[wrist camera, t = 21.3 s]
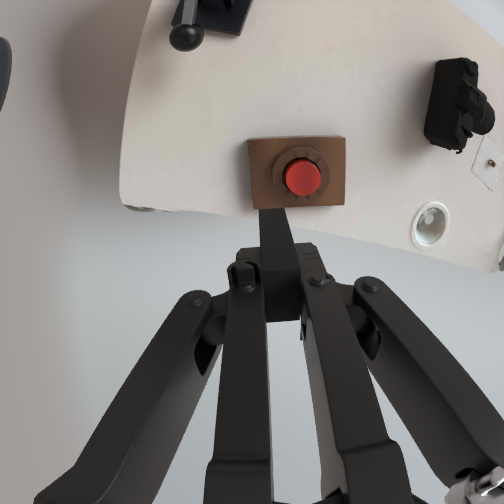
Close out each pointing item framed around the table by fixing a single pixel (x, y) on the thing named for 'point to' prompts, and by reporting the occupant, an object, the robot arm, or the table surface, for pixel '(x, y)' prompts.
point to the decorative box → (488, 162)
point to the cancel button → (302, 177)
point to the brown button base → (285, 152)
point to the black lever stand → (218, 15)
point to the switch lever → (187, 29)
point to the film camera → (457, 105)
